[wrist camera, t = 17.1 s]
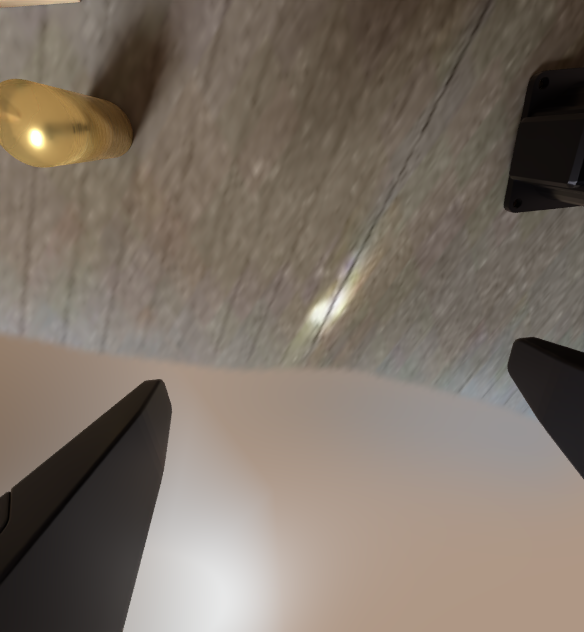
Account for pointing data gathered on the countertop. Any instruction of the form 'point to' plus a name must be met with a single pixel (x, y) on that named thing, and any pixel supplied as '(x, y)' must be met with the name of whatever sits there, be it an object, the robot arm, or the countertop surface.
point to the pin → (59, 125)
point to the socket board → (31, 2)
